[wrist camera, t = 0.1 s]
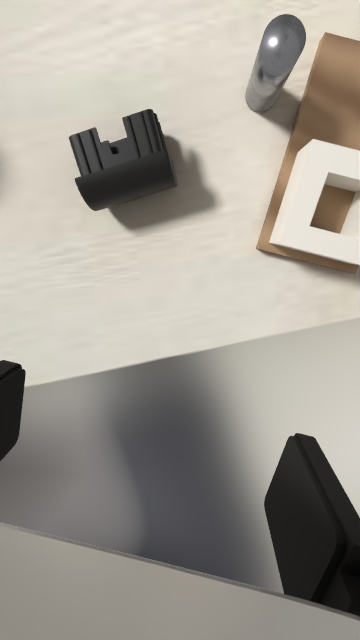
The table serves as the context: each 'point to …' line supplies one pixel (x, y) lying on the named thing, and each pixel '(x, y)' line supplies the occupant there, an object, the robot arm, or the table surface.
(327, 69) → the board
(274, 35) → the peg
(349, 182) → the socket
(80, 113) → the table surface
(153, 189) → the end cap
